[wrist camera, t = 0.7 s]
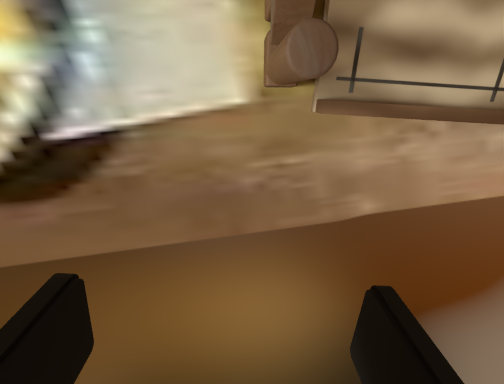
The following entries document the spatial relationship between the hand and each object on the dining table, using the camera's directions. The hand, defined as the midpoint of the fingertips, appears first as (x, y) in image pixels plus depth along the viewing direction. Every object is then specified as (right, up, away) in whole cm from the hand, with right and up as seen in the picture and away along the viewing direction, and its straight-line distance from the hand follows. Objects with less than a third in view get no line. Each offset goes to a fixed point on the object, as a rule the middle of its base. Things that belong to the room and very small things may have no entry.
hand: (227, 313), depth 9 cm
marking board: (+23, +22, +25) cm, 40 cm away
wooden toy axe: (+4, +22, +24) cm, 33 cm away
